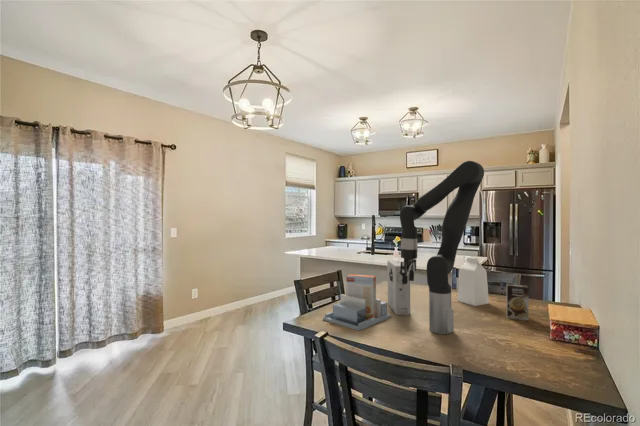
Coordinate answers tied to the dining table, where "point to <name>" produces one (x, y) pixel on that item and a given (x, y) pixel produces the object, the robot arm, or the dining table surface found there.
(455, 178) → the robot arm
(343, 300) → the sliding jaw
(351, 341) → the dining table surface
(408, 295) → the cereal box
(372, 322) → the vise body
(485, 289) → the milk
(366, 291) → the cracker box
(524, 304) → the coffee box
